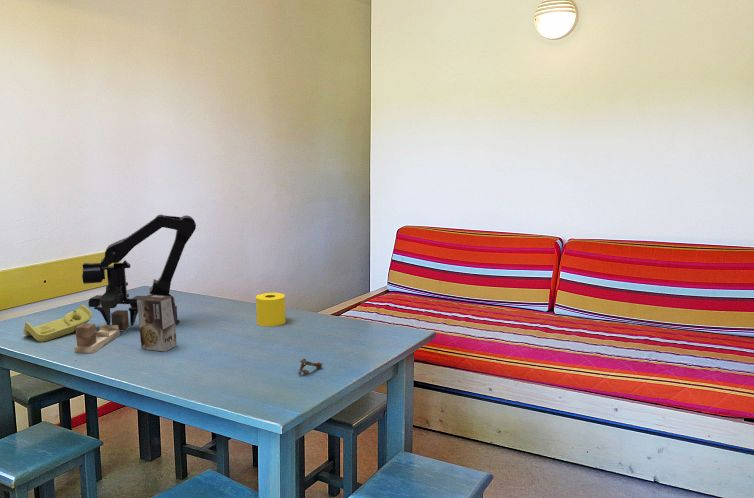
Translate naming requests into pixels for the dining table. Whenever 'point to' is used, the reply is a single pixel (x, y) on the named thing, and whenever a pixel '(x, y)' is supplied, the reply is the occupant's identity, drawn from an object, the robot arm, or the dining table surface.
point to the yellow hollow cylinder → (270, 309)
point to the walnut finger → (120, 319)
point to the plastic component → (59, 325)
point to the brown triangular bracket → (317, 365)
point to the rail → (99, 342)
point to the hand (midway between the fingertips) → (120, 325)
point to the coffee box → (157, 322)
